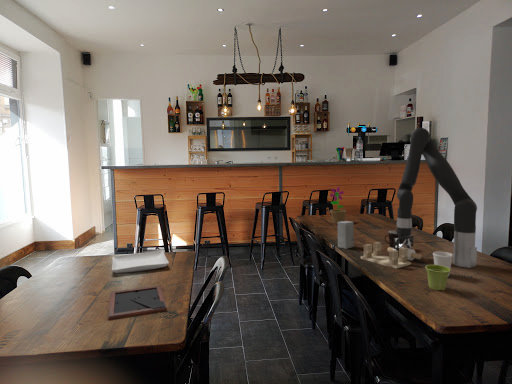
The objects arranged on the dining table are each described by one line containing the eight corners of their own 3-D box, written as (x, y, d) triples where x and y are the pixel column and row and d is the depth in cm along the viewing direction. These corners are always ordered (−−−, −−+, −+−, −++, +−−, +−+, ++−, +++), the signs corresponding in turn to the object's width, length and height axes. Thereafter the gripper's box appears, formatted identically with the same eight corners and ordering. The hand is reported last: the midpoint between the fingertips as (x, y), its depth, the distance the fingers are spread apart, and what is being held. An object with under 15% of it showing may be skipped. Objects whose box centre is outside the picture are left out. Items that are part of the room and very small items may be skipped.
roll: (423, 262, 187) (423, 250, 187) (416, 263, 184) (417, 251, 184) (391, 254, 203) (392, 243, 203) (385, 255, 200) (385, 244, 199)
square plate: (163, 256, 206) (162, 249, 206) (169, 269, 181) (169, 262, 180) (112, 262, 196) (112, 255, 196) (112, 277, 171) (111, 269, 171)
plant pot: (452, 287, 149) (453, 267, 149) (446, 294, 142) (447, 273, 142) (428, 282, 156) (429, 263, 155) (421, 288, 149) (422, 268, 148)
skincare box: (346, 249, 214) (346, 223, 213) (336, 247, 220) (336, 221, 218) (354, 246, 219) (354, 221, 218) (344, 244, 225) (345, 220, 223)
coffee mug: (400, 247, 218) (401, 230, 217) (405, 250, 209) (405, 233, 208) (381, 246, 219) (381, 230, 218) (384, 250, 210) (385, 233, 209)
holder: (410, 264, 182) (411, 249, 181) (396, 268, 176) (396, 252, 175) (375, 255, 200) (375, 241, 200) (360, 258, 194) (360, 244, 193)
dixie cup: (452, 279, 160) (453, 257, 159) (431, 276, 164) (432, 254, 163) (452, 273, 167) (453, 252, 166) (432, 271, 171) (433, 250, 170)
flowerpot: (343, 220, 310) (344, 186, 307) (349, 223, 295) (349, 187, 293) (327, 221, 309) (327, 186, 306) (332, 224, 294) (332, 188, 292)
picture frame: (167, 312, 131) (160, 289, 155) (166, 306, 131) (160, 284, 155) (108, 321, 125) (111, 295, 148) (108, 315, 124) (110, 291, 148)
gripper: (402, 228, 185) (401, 259, 186) (418, 225, 193) (417, 255, 194) (389, 226, 191) (389, 256, 193) (405, 223, 199) (405, 252, 200)
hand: (403, 255), depth 193 cm, fingers open, 8 cm apart
